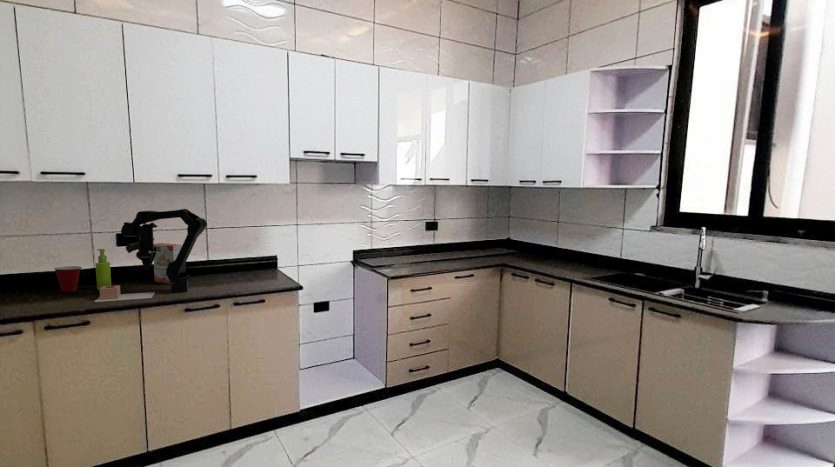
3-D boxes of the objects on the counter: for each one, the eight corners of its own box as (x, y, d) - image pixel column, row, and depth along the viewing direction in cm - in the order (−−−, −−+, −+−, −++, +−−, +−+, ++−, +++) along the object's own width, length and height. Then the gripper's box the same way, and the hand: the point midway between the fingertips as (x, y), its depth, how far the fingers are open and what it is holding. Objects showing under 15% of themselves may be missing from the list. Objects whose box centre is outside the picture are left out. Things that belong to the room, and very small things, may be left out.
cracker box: (153, 282, 236) (152, 243, 233) (163, 280, 242) (161, 242, 239) (174, 285, 232) (172, 245, 229) (183, 282, 237) (182, 244, 235)
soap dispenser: (108, 286, 226) (106, 247, 223) (113, 288, 221) (110, 249, 219) (94, 288, 221) (92, 249, 219) (99, 290, 217) (96, 250, 214)
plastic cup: (89, 288, 220) (87, 265, 219) (68, 294, 209) (66, 269, 208) (71, 287, 222) (69, 263, 221) (49, 292, 211) (47, 268, 210)
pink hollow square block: (120, 295, 205) (119, 285, 205) (117, 298, 200) (117, 288, 199) (103, 296, 203) (102, 286, 202) (100, 300, 197) (99, 289, 197)
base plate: (155, 294, 213) (155, 292, 213) (151, 299, 203) (151, 297, 203) (100, 297, 204) (100, 295, 204) (94, 304, 194) (93, 301, 194)
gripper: (130, 234, 217) (132, 266, 219) (122, 239, 200) (124, 273, 202) (156, 234, 221) (158, 264, 223) (150, 239, 204) (152, 272, 206)
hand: (148, 268), depth 214 cm, fingers open, 9 cm apart
